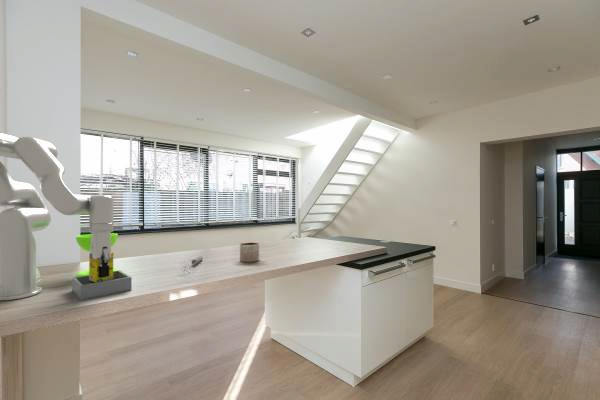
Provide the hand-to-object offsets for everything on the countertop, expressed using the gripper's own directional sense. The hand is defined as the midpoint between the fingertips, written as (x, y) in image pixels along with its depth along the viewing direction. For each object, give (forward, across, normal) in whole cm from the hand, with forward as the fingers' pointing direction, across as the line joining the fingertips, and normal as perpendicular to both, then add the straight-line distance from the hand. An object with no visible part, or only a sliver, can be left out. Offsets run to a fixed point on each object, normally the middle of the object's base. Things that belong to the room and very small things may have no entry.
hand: (101, 274), depth 109 cm
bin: (+6, 0, 0) cm, 6 cm away
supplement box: (+3, 0, 0) cm, 3 cm away
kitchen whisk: (+6, -13, +43) cm, 45 cm away
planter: (+6, -3, +71) cm, 72 cm away
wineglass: (+6, -31, +5) cm, 32 cm away
